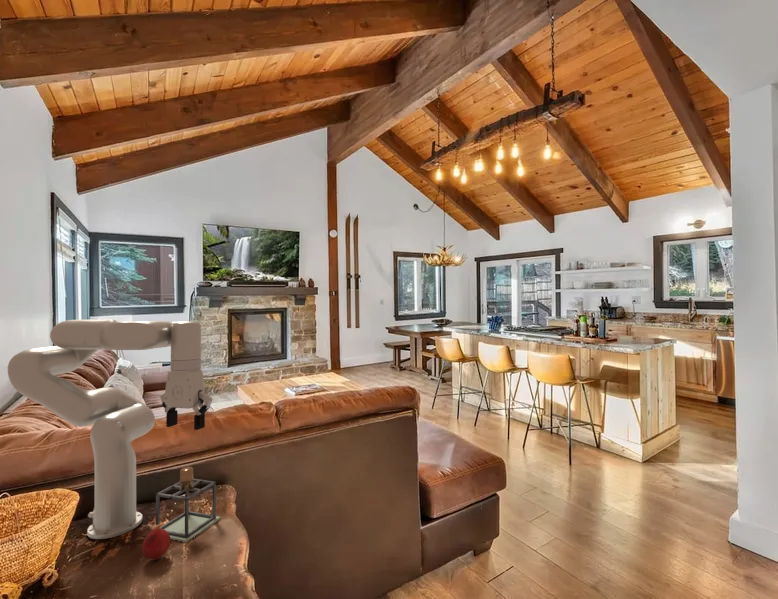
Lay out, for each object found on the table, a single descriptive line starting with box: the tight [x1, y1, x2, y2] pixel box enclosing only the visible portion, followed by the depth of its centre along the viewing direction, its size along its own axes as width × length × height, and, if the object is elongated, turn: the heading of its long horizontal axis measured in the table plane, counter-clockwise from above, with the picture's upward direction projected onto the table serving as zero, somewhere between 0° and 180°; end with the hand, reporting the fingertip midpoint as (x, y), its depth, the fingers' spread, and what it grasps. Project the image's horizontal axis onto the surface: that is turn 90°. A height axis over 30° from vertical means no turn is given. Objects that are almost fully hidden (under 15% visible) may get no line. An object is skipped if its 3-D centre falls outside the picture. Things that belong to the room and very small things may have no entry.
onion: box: [141, 524, 172, 561], centre depth 93 cm, size 6×6×8 cm
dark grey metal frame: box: [155, 466, 217, 538], centre depth 107 cm, size 10×10×15 cm
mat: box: [164, 514, 221, 543], centre depth 107 cm, size 12×12×1 cm
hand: (185, 427), depth 108 cm, fingers open, 9 cm apart
